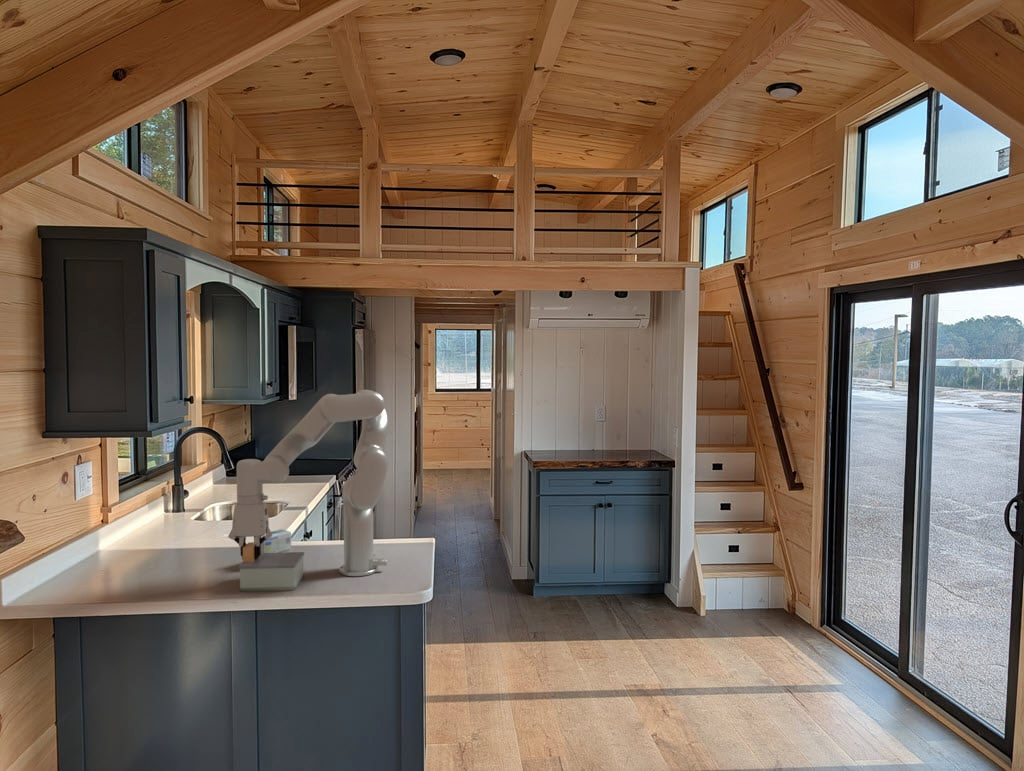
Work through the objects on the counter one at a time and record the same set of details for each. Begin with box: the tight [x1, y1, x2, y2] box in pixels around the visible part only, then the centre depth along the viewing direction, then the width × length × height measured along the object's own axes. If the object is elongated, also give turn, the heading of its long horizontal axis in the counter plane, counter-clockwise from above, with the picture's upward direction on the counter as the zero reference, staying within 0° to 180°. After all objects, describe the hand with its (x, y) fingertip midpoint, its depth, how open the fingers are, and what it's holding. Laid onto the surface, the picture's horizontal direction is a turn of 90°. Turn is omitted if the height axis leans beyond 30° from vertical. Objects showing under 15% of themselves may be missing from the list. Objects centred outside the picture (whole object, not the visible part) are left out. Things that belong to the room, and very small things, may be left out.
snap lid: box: [238, 541, 305, 570], centre depth 216 cm, size 16×14×6 cm
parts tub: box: [239, 556, 304, 592], centre depth 217 cm, size 16×13×8 cm
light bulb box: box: [253, 528, 292, 553], centre depth 236 cm, size 11×7×11 cm, turn 141°
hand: (250, 557), depth 216 cm, fingers closed on snap lid, 3 cm apart
